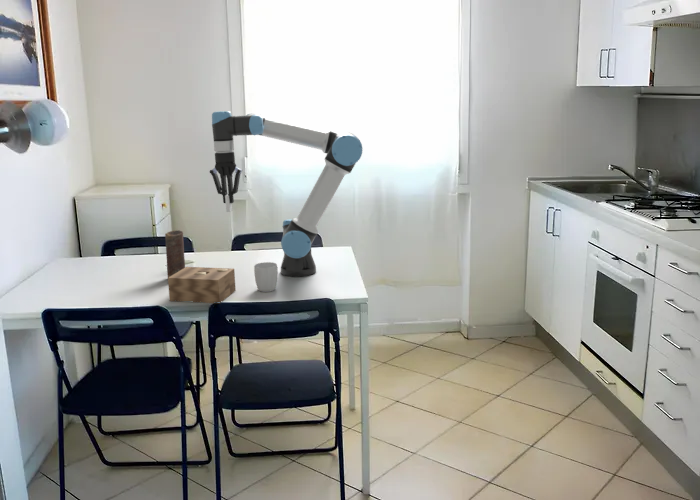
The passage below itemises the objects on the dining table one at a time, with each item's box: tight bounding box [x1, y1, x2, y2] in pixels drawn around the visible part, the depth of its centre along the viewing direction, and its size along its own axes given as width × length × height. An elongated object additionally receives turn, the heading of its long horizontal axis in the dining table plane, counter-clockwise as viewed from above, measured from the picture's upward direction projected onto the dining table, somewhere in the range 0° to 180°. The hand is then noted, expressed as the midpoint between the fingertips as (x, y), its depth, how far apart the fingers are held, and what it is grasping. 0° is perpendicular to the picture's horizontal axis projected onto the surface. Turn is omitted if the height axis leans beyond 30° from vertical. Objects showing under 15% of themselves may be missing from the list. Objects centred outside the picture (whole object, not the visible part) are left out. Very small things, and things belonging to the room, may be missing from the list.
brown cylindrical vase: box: [164, 229, 186, 278], centre depth 281 cm, size 8×7×20 cm
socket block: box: [167, 266, 237, 304], centre depth 258 cm, size 20×16×9 cm
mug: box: [253, 261, 279, 293], centre depth 266 cm, size 13×9×10 cm
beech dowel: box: [195, 272, 206, 275], centre depth 258 cm, size 4×4×9 cm
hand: (229, 211), depth 268 cm, fingers closed
